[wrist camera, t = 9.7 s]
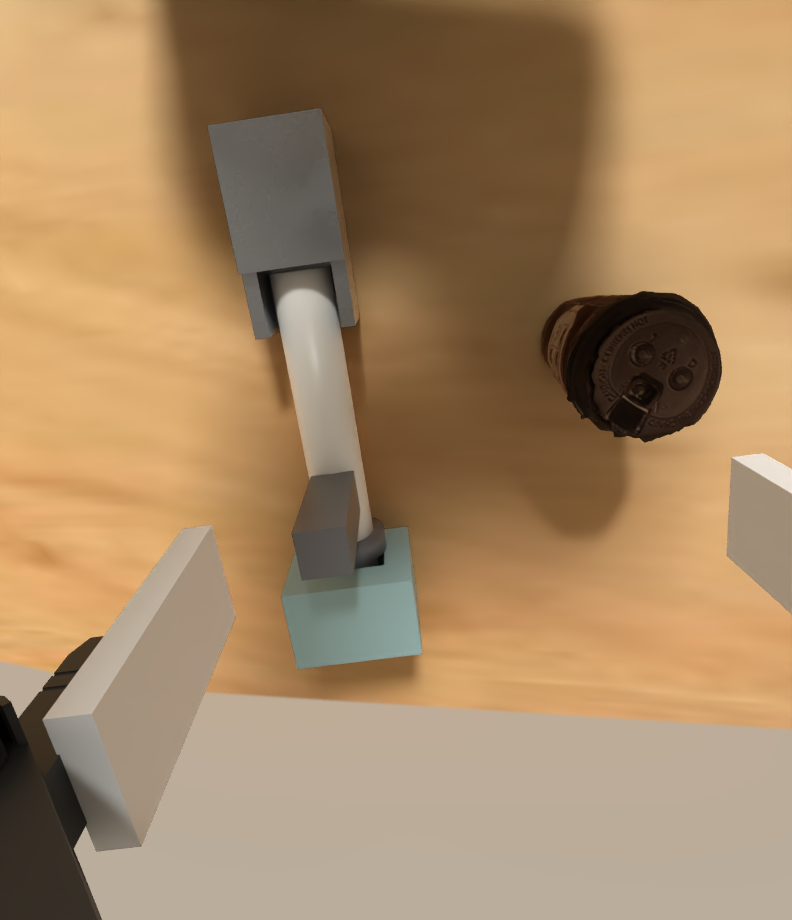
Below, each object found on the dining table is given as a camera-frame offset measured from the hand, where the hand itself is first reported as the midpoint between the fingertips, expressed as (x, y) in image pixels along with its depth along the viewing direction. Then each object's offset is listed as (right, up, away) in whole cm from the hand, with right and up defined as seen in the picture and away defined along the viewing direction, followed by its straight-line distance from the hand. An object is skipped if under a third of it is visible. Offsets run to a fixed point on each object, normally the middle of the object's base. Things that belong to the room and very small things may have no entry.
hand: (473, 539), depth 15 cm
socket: (-5, -7, +35) cm, 36 cm away
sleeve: (-9, +18, +26) cm, 33 cm away
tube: (-7, +4, +31) cm, 32 cm away
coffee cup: (+12, +11, +29) cm, 33 cm away
